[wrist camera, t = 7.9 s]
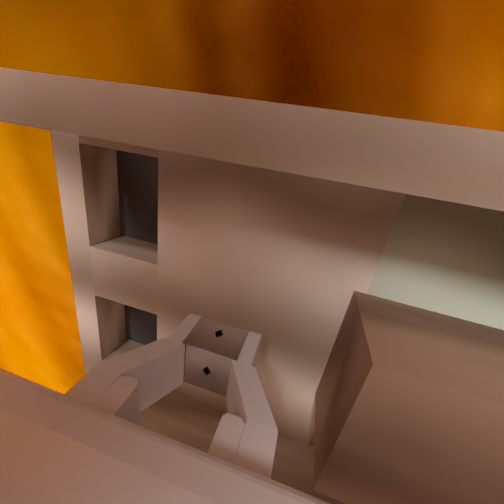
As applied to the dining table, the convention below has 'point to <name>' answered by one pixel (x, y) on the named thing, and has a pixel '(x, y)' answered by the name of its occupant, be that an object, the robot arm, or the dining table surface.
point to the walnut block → (410, 408)
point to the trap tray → (259, 230)
